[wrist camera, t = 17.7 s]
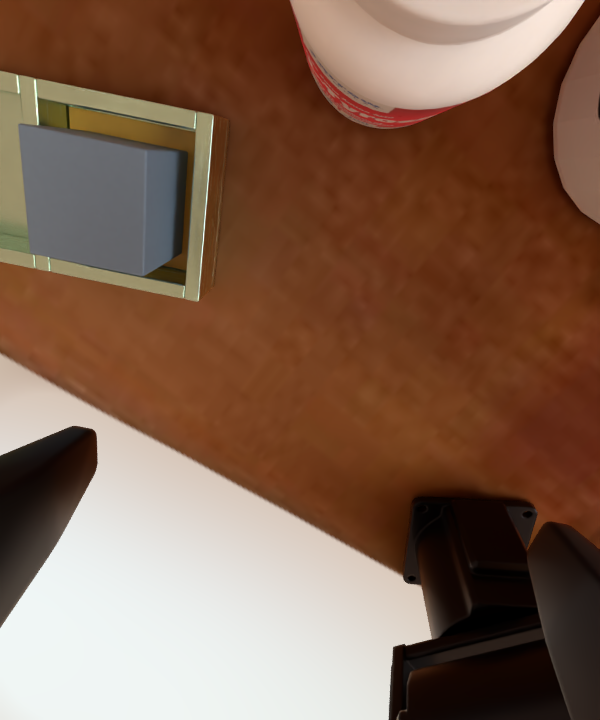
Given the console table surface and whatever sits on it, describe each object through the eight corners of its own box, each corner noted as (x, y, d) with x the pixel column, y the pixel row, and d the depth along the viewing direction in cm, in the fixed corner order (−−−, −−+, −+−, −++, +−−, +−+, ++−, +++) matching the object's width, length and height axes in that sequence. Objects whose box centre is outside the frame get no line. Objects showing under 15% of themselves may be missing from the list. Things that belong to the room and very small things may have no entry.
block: (188, 151, 16) (146, 149, 13) (182, 254, 18) (143, 277, 15) (87, 130, 16) (16, 122, 13) (90, 235, 18) (29, 253, 15)
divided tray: (230, 120, 16) (214, 114, 14) (214, 286, 19) (198, 302, 17) (-96, 53, 16) (-163, 37, 14) (-64, 230, 19) (-114, 239, 17)
